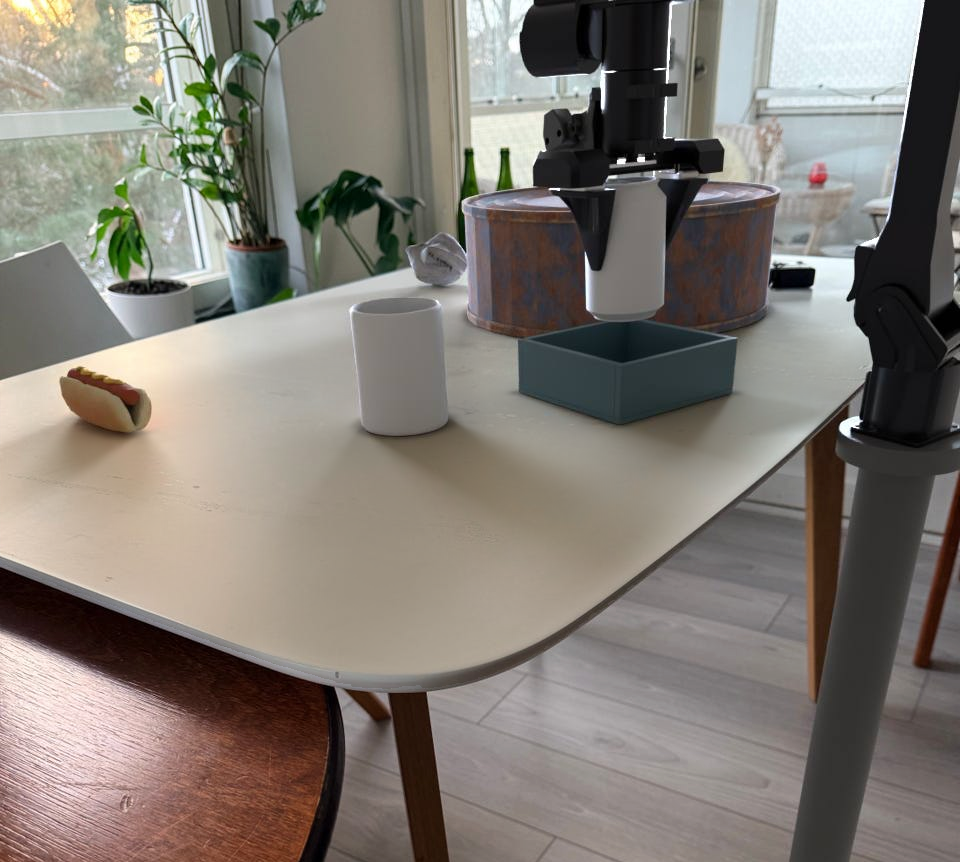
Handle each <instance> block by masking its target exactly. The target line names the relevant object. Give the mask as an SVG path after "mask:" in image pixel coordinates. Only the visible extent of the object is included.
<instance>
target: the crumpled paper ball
mask: <svg viewBox="0 0 960 862" xmlns="http://www.w3.org/2000/svg"><path fill="white" fill-rule="evenodd" d="M462 247H463V246H461V245H460V243H459V241H458V240H456V238H455V237H453V236H452V235H451V234H450V233H448V232H443V231H441V232H439V233H438V234H436V235H434V237H432V238H430V239H428V241H426V242H423V241H422V242H419V243H417V244H414V245H408V246H406V248H405V253H406V254H407V256H408V260H409V263H410V266H411V268H412V271H413V275H414V277H415V278H416V279H417V280H418V281H419V282H422V283H424V284H428V285H434V286H445V285H451V284H454V283H455V282H457V281H458V280H459V279H460V278H461V276H462V275H464V273H465V272H467V254H466V252H465V249H463V248H462Z"/></svg>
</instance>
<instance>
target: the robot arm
mask: <svg viewBox="0 0 960 862" xmlns="http://www.w3.org/2000/svg"><path fill="white" fill-rule="evenodd" d="M695 1H696V0H533V4H531V6H530V7H529V8H528V9H527V11H526V13H525V15H524V18H523V21H522V26H521V31H520V32H519V39H518V41H519V51H520V57H521V60H522V62H523V66H524V68H525V69H526V70H527V71H526V72H528V73H529V74H530V75H531V76H532V77H534V78H537V79H541V78H555V77H569V76H571V77H572V76H583V75H591V74H594V73H595V72H596V71H597V70H598V69H599V67H600V86H596V87H590V93H589V94H588V108H587V110H584V111H583V112H580V113H573V114H572V113H571V111H570V109H569V108H553V109H550V110H549V111H547V112H546V113H544V114H543V125H542V126H543V127H542V138H543V143H544V148H545V150H539V152H538V154H537V155H536V157H535V159H534V161H533V163H532V187H549V188H556V189H549V191H550V193H551V195H552V196H559V197H560V199H561V200H562V201H563V202H564V203H565V204H566V205H567V206H568V208H569V209H570V211H571V213H572V215H573V218H574V220H575V222H576V225H577V228H578V231H579V234H580V237H581V240H582V243H583V247H584V250H585V253H586V256H587V259H588V262H589V266H590V269H591V270H592V271H601V269H602V266H603V262H604V258H605V254H606V248H607V242H608V236H609V229H610V223H611V217H612V212H613V206H614V200H615V194H616V189H605V181H606V180H607V179H609V177H612V176H614V177H615V176H622V175H632V174H641V173H650V172H653V177H658V178H659V179H660V181H659V182H658V187H659V188H660V189H661V191H662V192H663V193H664V194H665V195H666V233H665V254H666V252H667V250H668V248H669V246H670V244H671V242H672V240H673V238H674V236H675V234H676V232H677V230H678V228H679V226H680V224H681V222H682V220H683V218H684V216H685V215H686V213H687V211H688V209H689V207H690V206H691V204H692V202H693V201H694V199H695V197H696V195H697V194H698V192H699V190H700V189H701V187H702V186H703V185H704V184H708V181H710V180H709V179H710V178H709V177H699V176H698V175H708V174H716V173H723V172H724V165H725V163H724V162H725V151H726V149H725V147H724V146H723V144H722V142H721V141H720V139H719V138H714V137H713V138H675V137H674V136H673V137H672V136H670V137H669V136H667V137H666V123H667V121H666V120H667V119H666V118H667V100H668V98H671V97H672V98H673V97H678V87H679V83H678V82H668V80H669V61H670V37H671V20H672V6H673V5H680V4H689V3H694V2H695ZM917 25H918V26H917V32H916V37H915V44H914V51H913V56H912V64H911V70H910V76H909V81H908V87H907V93H906V100H905V107H904V113H903V119H902V120H903V121H902V126H901V132H900V139H899V145H898V151H897V152H898V153H897V157H896V163H895V169H894V175H893V182H892V183H893V184H892V189H891V195H890V201H889V208H888V215H887V217H886V220H885V223H884V225H883V227H882V229H881V231H880V233H879V236H878V237H877V238H874V239H872V240H869V241H866V242H864V243H861V244H859V245H857V246H856V247H855V250H854V255H853V272H854V273H853V280H852V281H853V282H852V285H851V288H850V291H849V292H848V294H847V296H846V298H845V301H846V302H847V303H850V302H852V301H854V303H853V320H854V323H855V326H856V327H858V328H859V330H860V331H861V332H862V334H863V335H864V336H865V337H866V338H867V341H868V345H869V350H870V356H871V360H872V363H871V370H868V372H866V373H865V377H864V384H863V390H862V396H861V401H860V407H859V413H858V416H859V419H860V420H862V421H861V422H858V423H855V424H853V425H851V428H850V431H852V432H855V433H859V434H863V435H866V436H870V437H874V438H878V439H881V440H885V441H889V442H893V443H897V444H900V445H904V446H908V447H912V448H922V447H924V446H927V445H930V444H932V443H935V442H937V441H940V440H943V439H945V438H948V437H950V436H953V435H956V434H958V433H960V426H957V425H953V424H952V422H954V418H955V413H956V408H957V404H958V399H959V395H960V359H958V358H956V357H955V356H956V355H957V354H958V353H960V303H959V302H958V301H957V299H956V298H955V297H954V293H955V265H956V263H955V261H956V259H955V258H956V249H955V245H954V236H953V228H952V222H951V208H952V203H953V197H954V193H955V192H954V191H955V186H956V182H957V175H958V173H959V172H958V171H959V165H960V0H921V6H920V13H919V17H918V24H917ZM639 155H644V156H643V157H639Z"/></svg>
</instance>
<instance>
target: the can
mask: <svg viewBox="0 0 960 862" xmlns="http://www.w3.org/2000/svg"><path fill="white" fill-rule="evenodd" d="M659 181H660V179H659V178H658V177H654V176H648V175H645V176H644V175H643V176H640V175H639V176H623V177H622V176H621V177H614V178H609V177H608V178H607V180H606V181H605V189H616V194H615V200H614V206H613V212H612V217H611V223H610V229H609V236H608V242H607V248H606V254H605V258H604V262H603V266H602V269H601V271H592V270H591V269H590V266H589V262H588V259H587V256H586V253H585V270H586V309H587V310H588V311H589V312H590V313H591V314H592V315H594V318H596V319H598V320H601V321H608V322H629V321H637V320H643V319H647V318H650V317H652V316H654V315H655V314H656V311H657V310H658V309H659V308H661V307H662V306H663V305H664V277H665V233H666V195H665V194H664V193H663V192H662V191H661V189H660V188H659V187H658V182H659Z"/></svg>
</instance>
